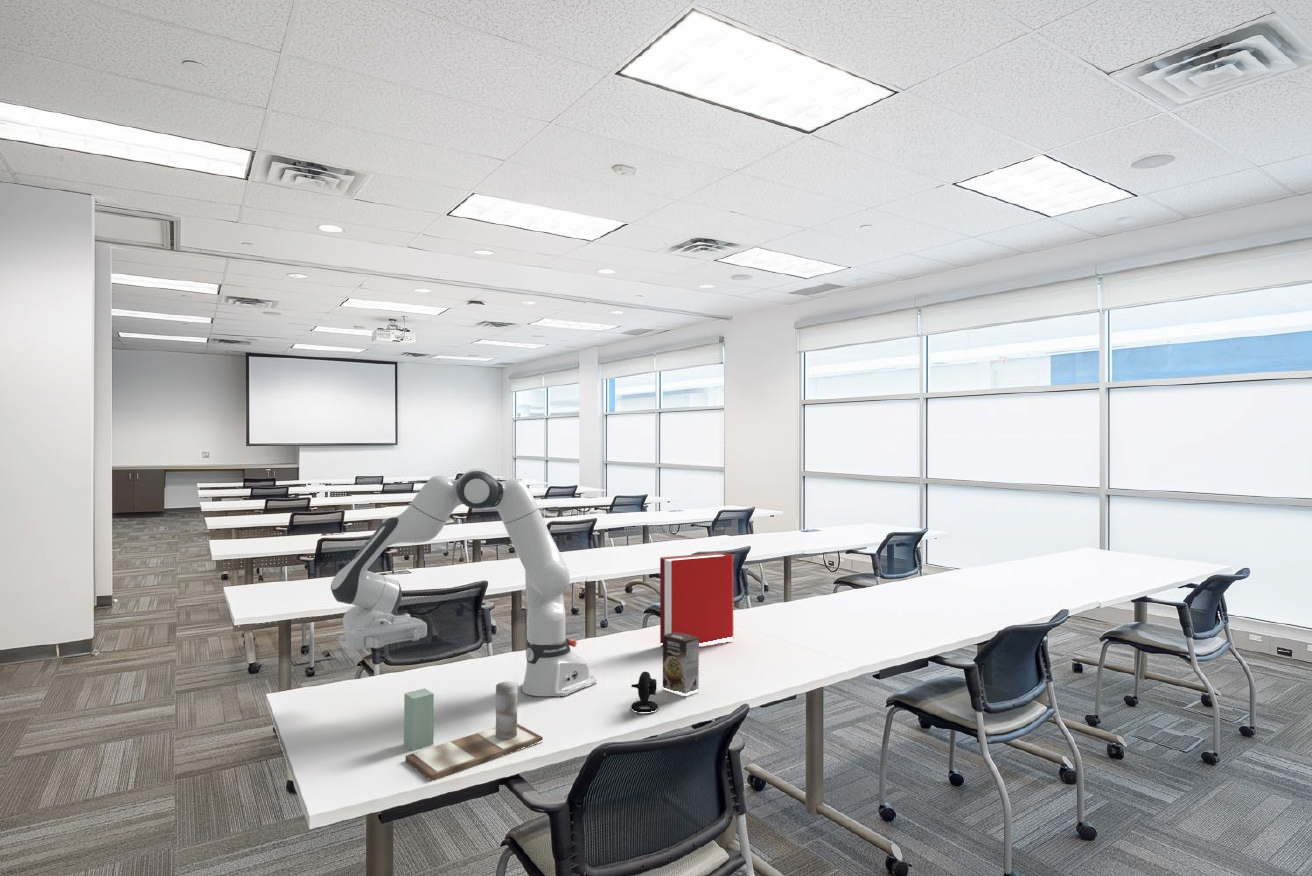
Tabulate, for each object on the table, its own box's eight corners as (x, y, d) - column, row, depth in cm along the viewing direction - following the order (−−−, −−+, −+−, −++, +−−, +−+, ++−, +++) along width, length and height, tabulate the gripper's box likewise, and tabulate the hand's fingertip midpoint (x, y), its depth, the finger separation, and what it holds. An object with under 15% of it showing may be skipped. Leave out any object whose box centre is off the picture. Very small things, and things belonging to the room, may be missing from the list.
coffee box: (661, 690, 197) (661, 635, 198) (676, 685, 202) (676, 630, 202) (685, 698, 191) (685, 640, 192) (699, 692, 196) (699, 636, 196)
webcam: (655, 715, 178) (655, 677, 178) (628, 714, 180) (628, 676, 180) (660, 705, 186) (660, 668, 186) (634, 703, 187) (634, 667, 187)
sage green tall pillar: (424, 738, 164) (424, 688, 164) (433, 744, 161) (433, 693, 161) (403, 744, 161) (404, 693, 161) (412, 750, 157) (413, 699, 157)
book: (671, 652, 236) (671, 560, 237) (660, 646, 243) (660, 557, 244) (735, 641, 249) (734, 554, 250) (722, 636, 256) (722, 552, 257)
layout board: (513, 726, 171) (513, 673, 171) (542, 742, 162) (542, 685, 162) (405, 761, 152) (406, 701, 152) (431, 781, 142) (431, 717, 143)
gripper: (336, 624, 173) (356, 635, 163) (413, 612, 187) (436, 621, 177) (335, 649, 173) (355, 661, 163) (413, 635, 187) (436, 645, 177)
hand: (398, 640), depth 170 cm, fingers open, 8 cm apart
